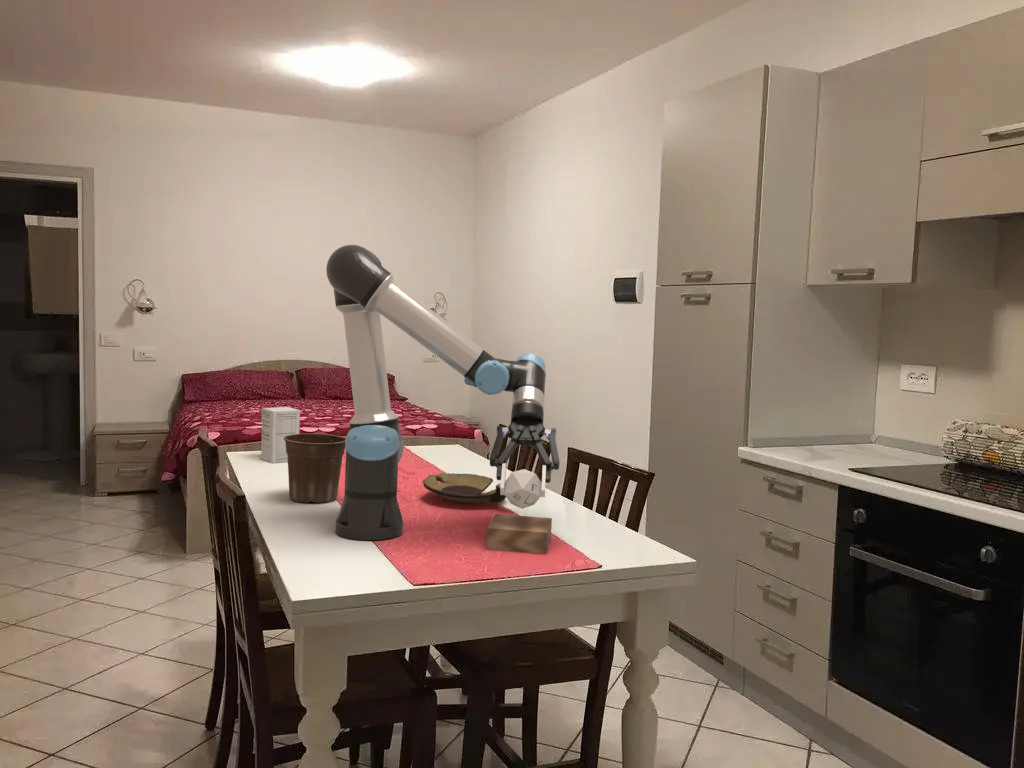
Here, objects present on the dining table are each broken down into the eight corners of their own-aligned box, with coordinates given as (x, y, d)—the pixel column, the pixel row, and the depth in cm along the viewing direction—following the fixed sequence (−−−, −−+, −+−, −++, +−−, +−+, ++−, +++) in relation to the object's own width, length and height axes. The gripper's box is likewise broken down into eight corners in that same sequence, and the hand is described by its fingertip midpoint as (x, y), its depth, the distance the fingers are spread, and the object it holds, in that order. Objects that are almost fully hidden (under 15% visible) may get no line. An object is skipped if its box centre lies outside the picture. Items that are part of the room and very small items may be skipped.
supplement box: (287, 456, 274) (289, 406, 272) (299, 461, 266) (301, 409, 265) (259, 458, 267) (261, 407, 266) (271, 463, 260) (272, 410, 259)
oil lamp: (482, 489, 238) (483, 462, 237) (532, 513, 211) (533, 483, 211) (409, 493, 228) (410, 465, 227) (452, 519, 201) (453, 488, 200)
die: (499, 511, 178) (524, 480, 174) (492, 485, 184) (515, 454, 181) (530, 522, 181) (554, 492, 178) (521, 495, 188) (545, 466, 185)
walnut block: (486, 550, 176) (487, 527, 176) (494, 535, 189) (495, 513, 189) (546, 555, 175) (547, 532, 174) (550, 539, 188) (551, 518, 187)
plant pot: (358, 497, 219) (360, 437, 218) (319, 508, 204) (321, 444, 203) (309, 489, 226) (310, 431, 224) (268, 500, 211) (270, 437, 210)
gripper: (571, 422, 195) (570, 504, 180) (483, 418, 196) (474, 499, 181) (573, 402, 189) (572, 485, 174) (482, 398, 190) (473, 480, 175)
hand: (522, 492), depth 178 cm, fingers closed on die, 8 cm apart
